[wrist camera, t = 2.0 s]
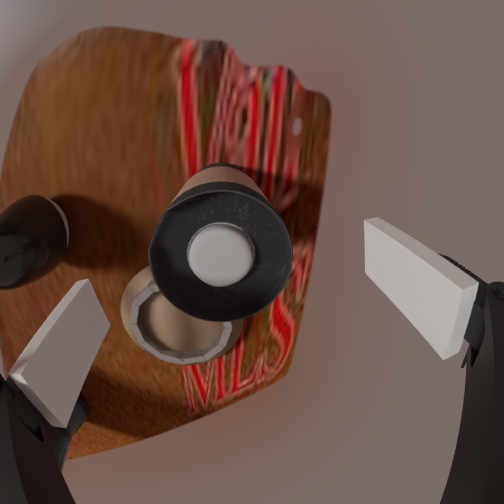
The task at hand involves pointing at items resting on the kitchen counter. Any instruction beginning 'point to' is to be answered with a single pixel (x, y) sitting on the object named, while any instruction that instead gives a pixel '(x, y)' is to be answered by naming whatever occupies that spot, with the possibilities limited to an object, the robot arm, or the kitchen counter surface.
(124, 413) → the kitchen counter surface
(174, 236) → the travel mug
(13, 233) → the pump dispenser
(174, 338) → the carrier plate
